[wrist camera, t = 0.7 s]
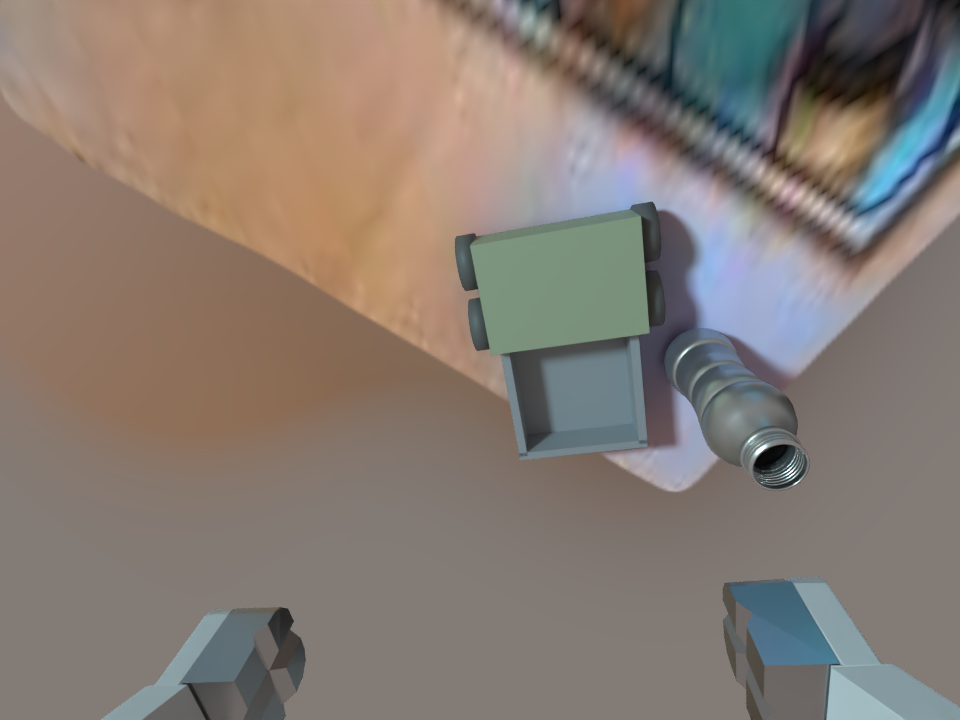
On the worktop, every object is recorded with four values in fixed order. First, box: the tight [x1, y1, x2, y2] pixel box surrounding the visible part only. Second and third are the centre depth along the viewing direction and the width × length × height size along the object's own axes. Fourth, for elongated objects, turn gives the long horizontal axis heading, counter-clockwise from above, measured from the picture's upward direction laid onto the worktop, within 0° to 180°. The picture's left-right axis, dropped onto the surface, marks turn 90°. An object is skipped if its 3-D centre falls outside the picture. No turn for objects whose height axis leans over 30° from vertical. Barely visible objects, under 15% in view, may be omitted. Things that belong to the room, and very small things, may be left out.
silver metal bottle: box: [664, 328, 810, 491], centre depth 42 cm, size 6×7×20 cm
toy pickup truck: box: [455, 202, 665, 460], centre depth 49 cm, size 23×17×6 cm
